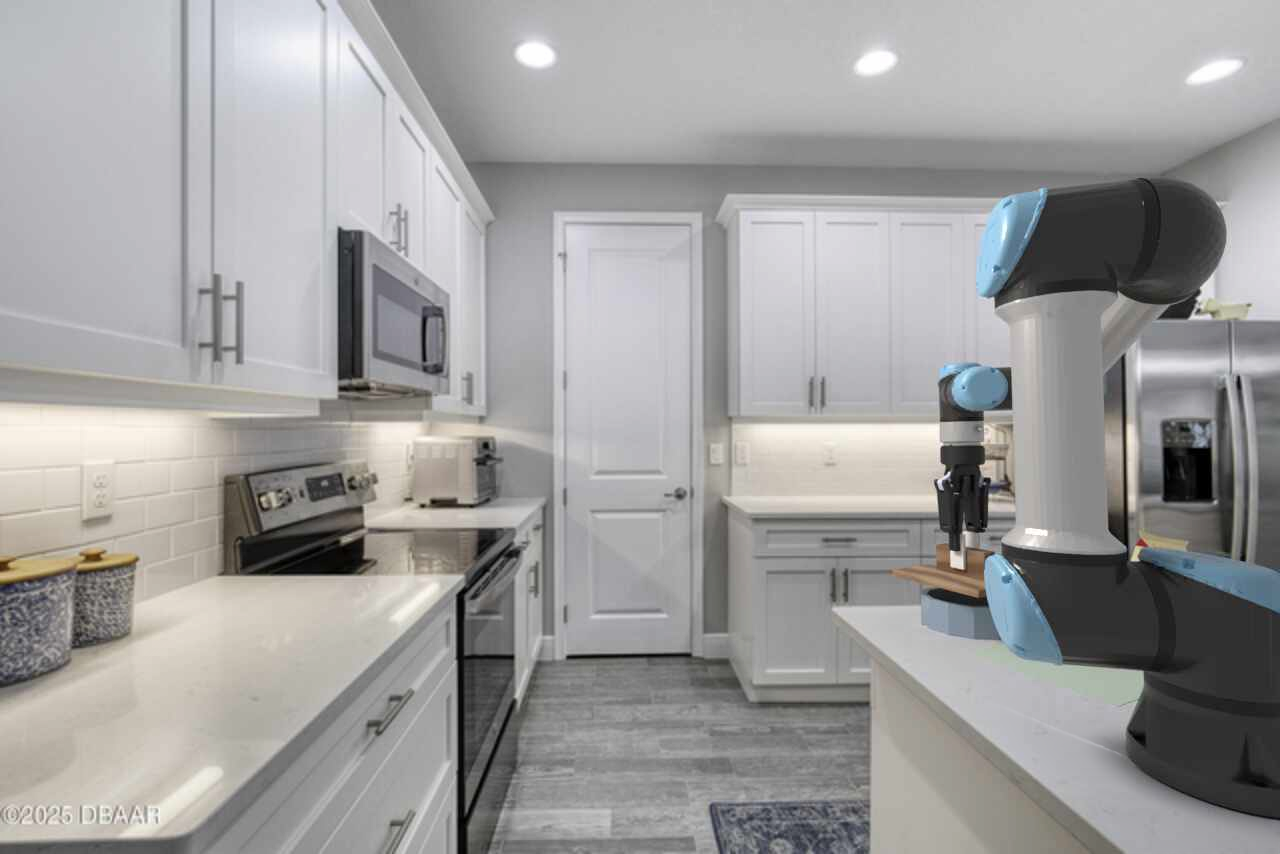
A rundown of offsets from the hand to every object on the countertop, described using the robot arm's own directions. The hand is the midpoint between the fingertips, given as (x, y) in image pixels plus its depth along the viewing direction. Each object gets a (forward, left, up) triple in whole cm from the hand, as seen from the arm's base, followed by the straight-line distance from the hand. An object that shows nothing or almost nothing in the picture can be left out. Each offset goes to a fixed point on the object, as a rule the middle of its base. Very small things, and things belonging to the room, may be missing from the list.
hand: (964, 566), depth 111 cm
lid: (0, 0, -3) cm, 3 cm away
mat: (-2, -20, -12) cm, 23 cm away
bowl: (0, 0, -12) cm, 12 cm away
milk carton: (+19, -22, -12) cm, 31 cm away
